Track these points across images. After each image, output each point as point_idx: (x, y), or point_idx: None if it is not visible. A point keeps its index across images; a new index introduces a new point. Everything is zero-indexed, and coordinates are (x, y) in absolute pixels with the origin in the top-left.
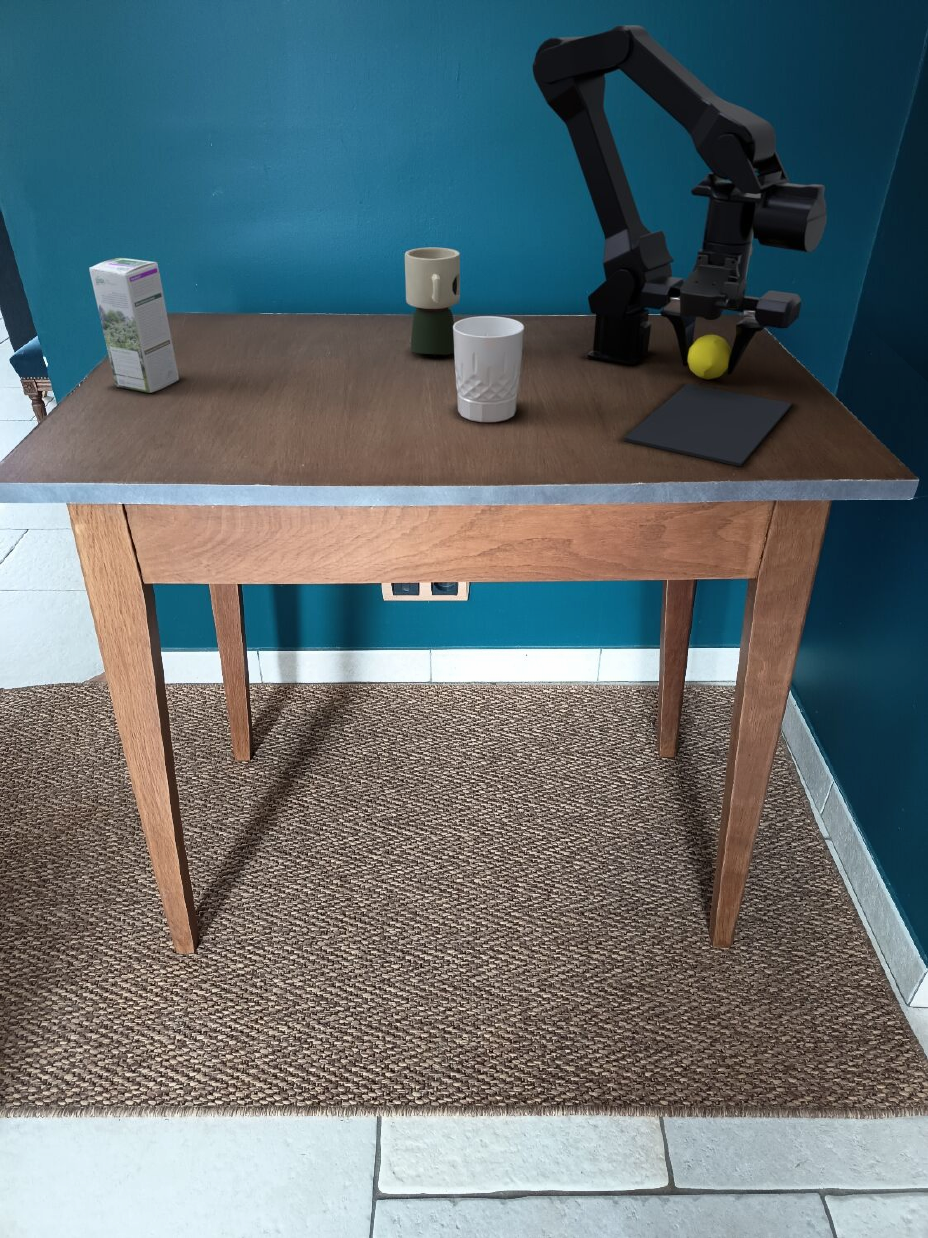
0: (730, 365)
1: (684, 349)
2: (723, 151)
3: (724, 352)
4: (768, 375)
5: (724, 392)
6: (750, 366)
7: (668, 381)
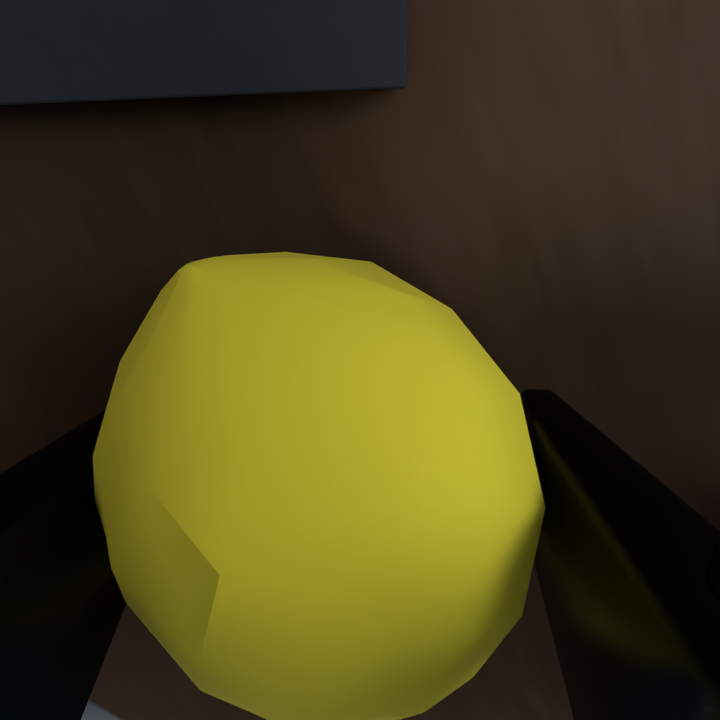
0: None
1: (592, 473)
2: None
3: (100, 476)
4: None
5: (1, 48)
6: None
7: (609, 128)
